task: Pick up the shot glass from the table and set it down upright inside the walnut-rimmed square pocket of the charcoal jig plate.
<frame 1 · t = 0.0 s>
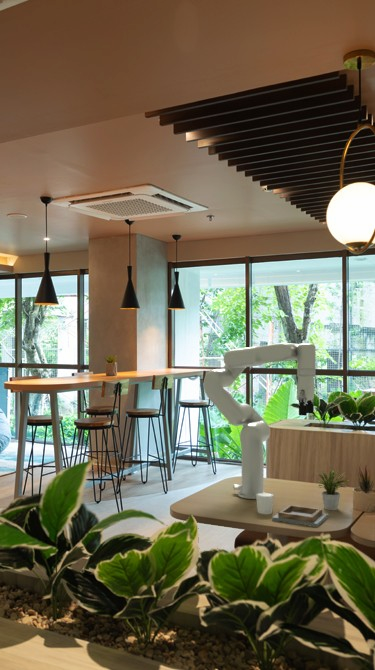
hand: (306, 414, 251), 37 cm above the table, tool pointing down, fingers open, 9 cm apart
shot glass: (264, 512, 235), on the table
jig: (300, 518, 226), on the table
house plant: (329, 509, 240), on the table
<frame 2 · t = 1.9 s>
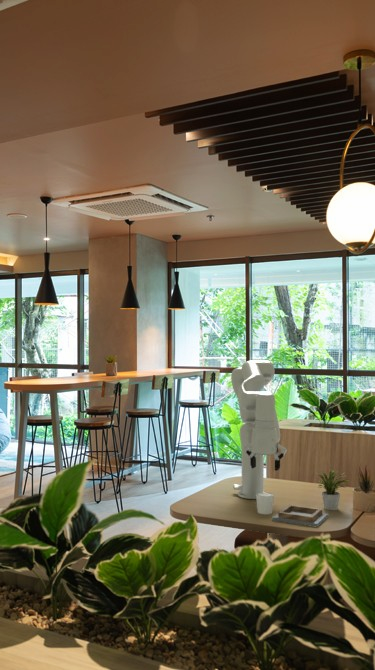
hand: (265, 468, 235), 17 cm above the table, tool pointing down, fingers open, 9 cm apart
nothing on the table moved.
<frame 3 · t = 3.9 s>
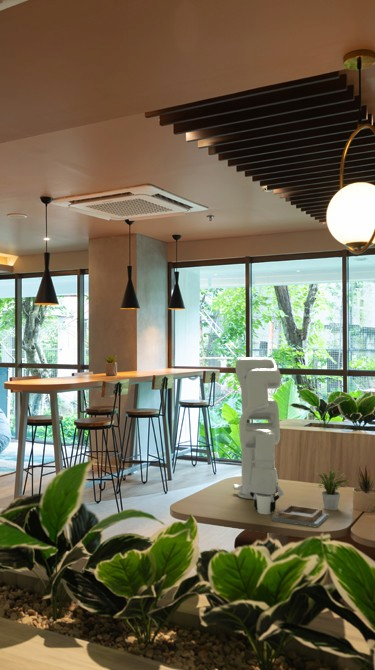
hand: (264, 510, 235), 1 cm above the table, tool pointing down, fingers closed on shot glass, 5 cm apart
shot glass: (264, 512, 235), on the table, touching gripper
everything else where it was.
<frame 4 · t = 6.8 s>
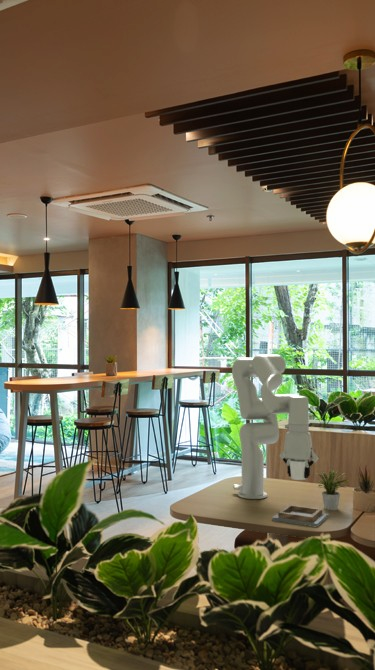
hand: (298, 476, 227), 16 cm above the table, tool pointing down, fingers closed on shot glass, 5 cm apart
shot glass: (298, 479, 227), point 15 cm above the table, touching gripper
everything else where it was.
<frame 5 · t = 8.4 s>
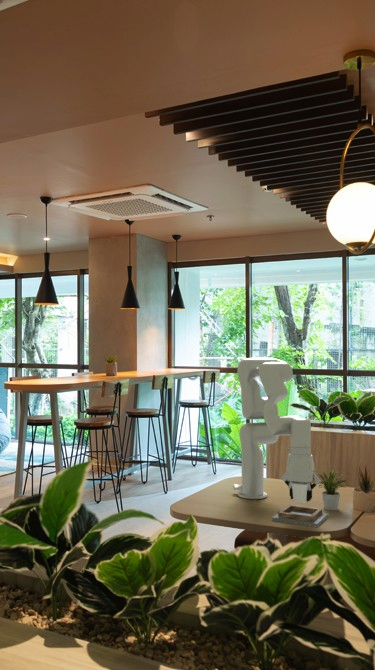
hand: (300, 499, 227), 7 cm above the table, tool pointing down, fingers closed on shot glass, 5 cm apart
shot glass: (300, 501, 226), point 6 cm above the table, touching gripper
everything else where it was.
when the fingers open (4 cm above the table, at t = 9.6 s): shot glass drops 2 cm, resting on jig.
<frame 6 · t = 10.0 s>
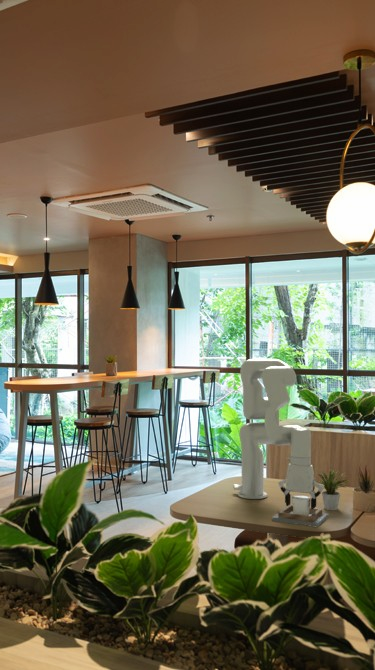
hand: (300, 506, 227), 4 cm above the table, tool pointing down, fingers open, 9 cm apart
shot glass: (301, 516, 226), point 1 cm above the table, touching jig
everything else where it was.
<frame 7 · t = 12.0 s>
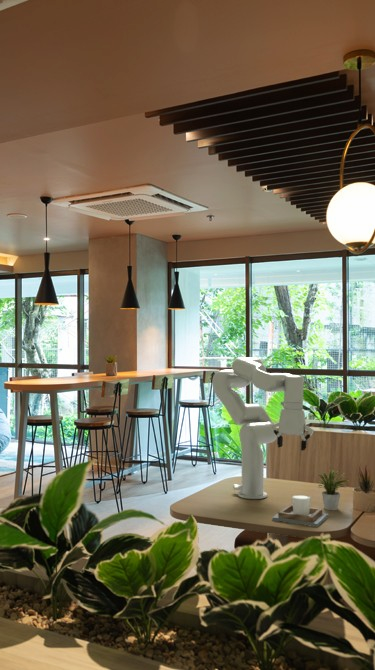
hand: (291, 448, 242), 24 cm above the table, tool pointing down, fingers open, 9 cm apart
nothing on the table moved.
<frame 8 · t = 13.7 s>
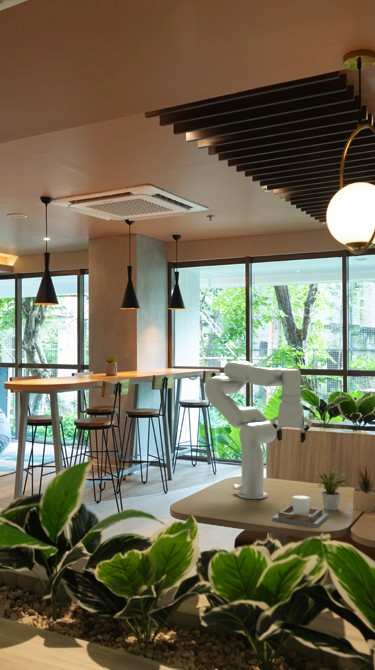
hand: (291, 441, 245), 26 cm above the table, tool pointing down, fingers open, 9 cm apart
nothing on the table moved.
at the end: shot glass 0.2 cm off-centre on the jig, point 1.0 cm above the jig's base; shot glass tilted 0°; the gripper is holding nothing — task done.
